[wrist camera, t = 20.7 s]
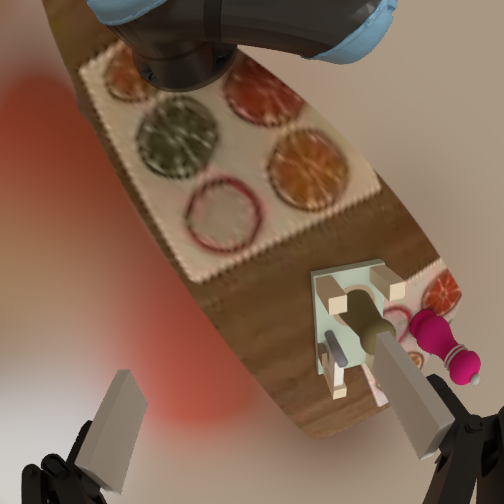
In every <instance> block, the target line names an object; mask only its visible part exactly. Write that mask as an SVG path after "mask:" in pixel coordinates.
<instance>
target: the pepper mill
mask: <svg viewBox="0 0 504 504" xmlns="http://www.w3.org/2000/svg"><path fill="white" fill-rule="evenodd" d="M410 332H411V334H412V335H413V336H414V337H415V338H416V339H417V344H418V346H419V347H420V348H421V349H422V350H424V351H426V352H428V353H432V354H435V355H437V356H439V357H440V358H441V359H442V360H443V361H444V367H445V368H446V369H447V370H448V371H450V378H451V380H452V381H453V382H454V383H455V384H458V385H465V384H467V383H469V382H471V383H472V384H473V385H475V384H477V383H478V382H479V380H480V376H479V375H478V372H479V369H480V365H481V362H480V358H479V356H478V355H477V354H476V353H475V352H474V351H468V349H467V348H466V347H465V346H464V345H462V344H460V345H459V344H458V343H457V342H456V341H455V339H454V337H453V335H452V332H451V329H450V326H449V324H448V323H447V321H446V320H445V319H444V318H443V317H441V316H437V315H436V314H435V313H434V312H433V311H431V310H429V309H425V310H422V311H420V312H419V313H418V314H417V315H416V316H415V317H414V318H413V320H412V322H411V325H410Z"/></svg>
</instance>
